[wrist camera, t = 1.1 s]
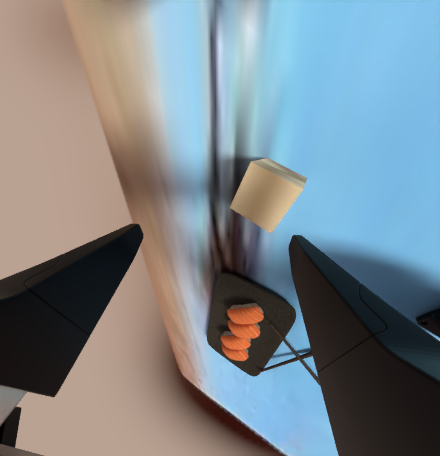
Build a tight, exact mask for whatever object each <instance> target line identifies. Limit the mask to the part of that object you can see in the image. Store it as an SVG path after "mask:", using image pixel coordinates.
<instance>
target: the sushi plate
mask: <svg viewBox="0 0 440 456" xmlns="http://www.w3.org/2000/svg"><path fill="white" fill-rule="evenodd" d="M295 319H296V312H295V309H294V308H293V307H292V306H291V305H290V304H289V303H288V302H286V301H285V300H283V299H282V298H280V297H278V296H276V295H274V294H273V293H271V292H269V291H267V290H265V289H263V288H261V287H259V286H257V285H255V284H253V283H251V282H249V281H247V280H245V279H243V278H241V277H238V276H236V275H233V274H230V273H221V274H220V275H219V276H218V278H217V281H216V286H215V291H214V297H213V303H212V309H211V315H210V321H209V327H208V333H207V341H208V344H209V345H210V346H211V347H212V348H213V349H214V350H215V351H217V352H218V353H219V354H220V355H222V356H223V357H225V358H226V359H227V360H229V361H230V362H231V363H233V364H234V365H235V366H237V367H238V368H240V369H241V370H243V371H244V372H246V373H247V374H249V375H251V376H257V375H259V374H260V373H261V372H263V371H266V370H269V369H272V368H275V367H278V366H282V365H285V364H288V363H291V362H294V361H297V360H300V362H301V363H302V364H303V365H304V367H305V368H306V369H307V370H308V371H309V373H310V374H311V375H312V376H313V378H314V379H315V380H316V381H317V383H318V384H319V385H320V382H319V379H318V378H317V376H316V375H315V374H314V373H313V372H312V371H311V370H310V368H309V367H308V366H307V365H306V364H305V363H304V361H303V360H302V359H304V358H308V357H311V356H313V354H312V351H311V352H308V353H306V354H303V355H300V356H299V355H298V354H297V353H296V352H295V351H294V350H293V348H292V347H291V346H290V345H289V344H288V342H287V341H286V340H285V339H284V338H285V337H286V335H287V334H288V332H289V331H290V329H291V327H292V326H293V324H294V322H295ZM282 341H284V342H285V344H286V345H287V346H288V347H289V348H290V350H291V351H292V352H293V353H294V354H295V356H296V357H295V358H292V359H290V360H287V361H284V362H281V363H279V364H276V365H273V366H270V367H267V368H265V369H264V367H265V366H266V364H267V363H268V361H269V360H270V358H271V357H272V355H273V354H274V353H275V351H276V350H277V348H278V347H279V345H280V344H281V342H282Z"/></svg>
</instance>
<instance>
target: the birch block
mask: <svg viewBox="0 0 440 456" xmlns="http://www.w3.org/2000/svg"><path fill="white" fill-rule="evenodd" d="M306 180H307V178H306V177H304V176H302V175H300V174H298V173H296V172H294V171H292V170H290V169H288V168H286V167H284V166H282V165H280V164H278V163H276V162H274V161H272V160H271V159H269V158H265V159H261V160H256V161H251V162H250V165H249V167H248V169H247V171H246V173H245V176H244V178H243V180H242V182H241V184H240V186H239V189H238V191H237V193H236V195H235V197H234V200H233V202H232V204H231V206H230V208H231V209H233V210H234V211H236V212H238V213H239V214H241V215H242V216H244V217H246V218H247V219H249V220H250V221H252V222H254V223H255V224H257V225H258V226H260V227H262V228H263V229H265V230H266V231H268V232H270V233H272V231H273V230H274V229H275V227H276V226H277V225H278V223H279V222H280V221H281V219H282V218H283V216H284V215H285V214H286V212H287V211H288V210H289V208H290V207H291V206H292V204H293V203H294V201H295V200H296V199H297V197H298V196H299V195H300V193H301V192H302V190H303V189H304V186H305V183H306Z"/></svg>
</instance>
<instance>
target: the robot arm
mask: <svg viewBox="0 0 440 456" xmlns="http://www.w3.org/2000/svg"><path fill="white" fill-rule="evenodd" d="M142 240H143V232H142V230H141V227H140V225H139V224H129V225H127V226H125V227H123V228H120V229H119V230H116V231H114V232H111V233H109V234H107V235H105V236H102V237H100V238H98V239H96V240H93V241H91V242H89V243H87V244H85V245H82V246H80V247H78V248H75V249H73V250H71V251H69V252H67V253H65V254H62V255H60V256H57V257H55V258H53V259H50V260H48V261H46V262H44V263H41V264H39V265H36V266H34V267H32V268H29V269H26V270H24V271H21V272H19V273H16V274H14V275H11V276H9V277H6V278H4V279H2V280H0V456H43V455H39V454H36V453H32V452H28V451H25V450H21V449H17V448H15V444H16V438H17V431H18V425H19V420H20V413H21V408H20V407H16V406H17V404H18V403H19V402H20V400H21V399H22V398H23V396H24V395H25V394H26V393H27V392H32V393H36V394H41V395H45V396H50V397H55V395H56V394H57V393H58V391H59V389H60V388H61V386H62V384H63V382H64V381H65V379H66V377H67V375H68V373H69V372H70V370H71V368H72V367H73V365H74V363H75V361H76V360H77V358H78V356H79V354H80V353H81V351H82V349H83V347H84V345H85V344H86V342H87V340H88V339H89V337H90V335H91V333H92V331H93V330H94V328H95V326H96V324H97V323H98V321H99V319H100V317H101V316H102V314H103V312H104V310H105V309H106V307H107V305H108V304H109V302H110V300H111V298H112V296H113V295H114V293H115V291H116V290H117V288H118V286H119V284H120V282H121V281H122V279H123V277H124V276H125V274H126V272H127V270H128V269H129V267H130V265H131V263H132V262H133V260H134V258H135V256H136V253H137V251H138V249H139V246H140V244H141V242H142ZM289 256H290V264H291V271H292V277H293V281H294V285H295V289H296V292H297V296H298V300H299V304H300V308H301V312H302V316H303V320H304V323H305V327H306V331H307V335H308V339H309V343H310V347H311V350H312V354H313V358H314V362H315V366H316V370H317V372H318V373H317V374H318V378H319V382H320V386H321V390H322V393H323V397H324V401H325V405H326V409H327V413H328V417H329V421H330V424H331V428H332V432H333V436H334V440H335V444H336V448H337V451H338V455H339V456H440V341H439V340H437V339H436V338H434V337H433V336H432V335H430V334H429V333H427V332H426V331H425V330H423V329H422V328H420V327H419V326H418V325H416V324H415V323H413V322H412V321H411V320H409V319H408V318H406V317H405V316H404V315H402V314H401V313H399V312H398V311H397V310H395V309H394V308H393V307H391V306H390V305H388V304H387V303H386V302H384V301H383V300H382V299H380V298H379V297H378V296H377V295H375V294H374V293H373V292H371V291H370V290H369V289H368V288H366V287H365V286H364V285H363V284H360V282H359V281H358V280H356V279H355V278H354V277H353V276H351V275H350V274H349V273H348V272H346V271H345V270H344V269H343V268H341V267H340V266H339V265H338V264H336V263H335V262H334V261H333V260H331V259H330V258H329V257H328V256H326V255H325V254H324V253H323V252H321V251H320V250H319V249H318V248H316V247H315V246H314V245H313V244H311V243H310V242H309V241H308V240H306V239H305V238H304V237H303V236H301V235H293V236H292V239H291V242H290V244H289ZM416 321H417V323H418V324H419V325H420V326H422V327H423V328H425V329H427V330H428V331H430V332H431V333H433V334H435V335H436V336H438V337H439V338H440V309H438V310H435V311H432V312H430V313H427V314H425V315H422V316H419V317H417V318H416ZM423 321H424V322H423Z"/></svg>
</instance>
